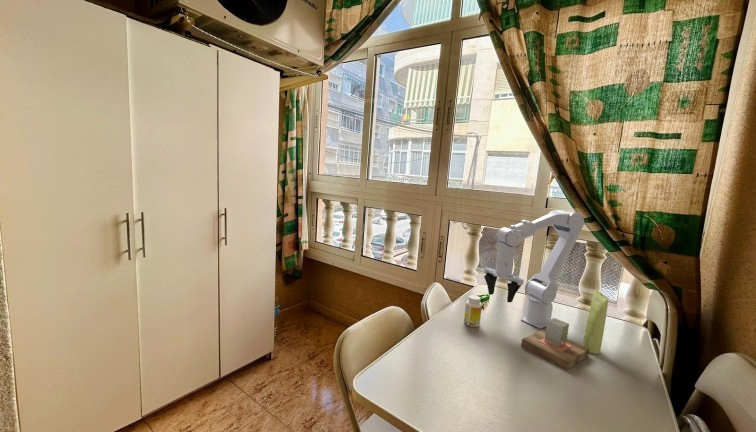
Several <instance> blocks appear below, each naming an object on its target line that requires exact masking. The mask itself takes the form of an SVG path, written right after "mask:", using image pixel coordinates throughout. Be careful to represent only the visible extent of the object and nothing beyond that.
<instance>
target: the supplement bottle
mask: <svg viewBox="0 0 756 432" xmlns="http://www.w3.org/2000/svg"><path fill="white" fill-rule="evenodd" d="M482 308H483V304H482V302H481V297H480V296H478V295H473V294H471V295H469V296H468V300H467V301H465V307H464V309H465V310H464V318H463V319H464V320H463V323H464V324H465V325H466V326H468V327H472V328H477V327H479V326H480V325H481V317H482Z"/></svg>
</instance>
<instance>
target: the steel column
mask: <svg viewBox="0 0 756 432" xmlns="http://www.w3.org/2000/svg"><path fill="white" fill-rule="evenodd" d="M569 327H570V323H567V322H565V321H563V320H561V319H558V318H555V317H554V318H551V320H549V321H547V326H546V329H545V330H546V334H545V340H544V342H546V343H548V344H550V345H552V346H554V347H557V348H561V347H563V346H565V345H566V341H567V339H568V334H569Z"/></svg>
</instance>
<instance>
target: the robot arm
mask: <svg viewBox="0 0 756 432" xmlns="http://www.w3.org/2000/svg"><path fill="white" fill-rule="evenodd" d="M585 224H586V222H585V220H584V216H583V214H582V213H581V212H577V211H571V210H570V211H568V210H563V209H560V208H557V209H554V210H551V211H549V213H547V214H545V215H543V216H540V217H539V218H537V219H535V220H533V221H531V220H526V219H522V220H521V221H520V222H519V223H517V224H511V225H509V227H502V228H500V229H499V230H497V232H496V234H495V240H496V243H497V251H496V257H495V258H496V259H495V268H491V267H484V269H483V274H485V275H484V276H483V277H484V281H485V283H486V286H487V291H488V295H491V296H492V295H494V293H495V288H496V282H497V280H498V278H499V279H502V280H505V281H507V282H508V283H507V284H506V285H507V286H506V287H507V298H506V301H507V303H508V304H509V303H512V302H513V300H514V298H515V295H516V294H517V292H518V291H519V290H520V288H521V287H522V286H523V285H524V282H525V279H524V278H521V277H519V276H516V275H514V274H513V269H514V268H513V267H514V262H515V261H514V260H515V252H516V247H517V246H518V245H519V244H520V242H522V241H523V240H525V239H527V238H530V237H532V236H534V235H535V234H536V232H537V231H538V230H541V229H542V230H543V229H544V228H548V227H550V226H553V229H554V230H555V232H557V234H558V239H557V241H556V243H555V244H554V246H553V247H552V250H551V252H550V254H549V255H548V257H547V259H546V261H545V263H544V265H543V266H542V268H541V270H540V272H539V273H535V274H533V275H532V276H531V278H530V279H528V280H527V281H526V283H525V285H524V291H525V293H526V295H527V304H526V310H525V311H526V312H525V316H524V317H521V318H520V321H521V322H525V323H527V324H529V325H531V326H534V327H536V328H538V329H541V330H542V329H544V328H545V327H547V321H549V320H551V319H552V316H553V315H552V313H553V302H554V300H555V299H556V298H557V297H556V296H557V291H558V290H559V286H558V284H557V281H556V279H557V277H558V275H559V273H560V272H561V270H562V268H563V266H564V264H565V263H566V261H567V258H568V257H569V255H570V253H571V251H572V249H573V248H574V246H575V244H576V243H577V240H578V238H579V235H580V233H581V231H582V229H583V228H584V225H585Z"/></svg>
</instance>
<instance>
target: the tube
mask: <svg viewBox="0 0 756 432" xmlns="http://www.w3.org/2000/svg"><path fill="white" fill-rule="evenodd" d="M609 299H610V298H609V297H608V296H606V295H605V294H603V293H602V292H600V291H599V290H597V288H595V289H594V292H593V296H592V299H591V303H590V308H589V312H588V315H587V320H586V325H585V329H584V335H583V340H582V344H581V345H582V346H584V347H586V348H588V349H589V353H590V354H595V355H598V354H600V353H601V351H602V350H601V349H602V348H601V347H602V344H603V340H604V339H603V337H604V332H605V325H606V322H607V321H606V320H607V312H608V308H609V307H608V306H609Z"/></svg>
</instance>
